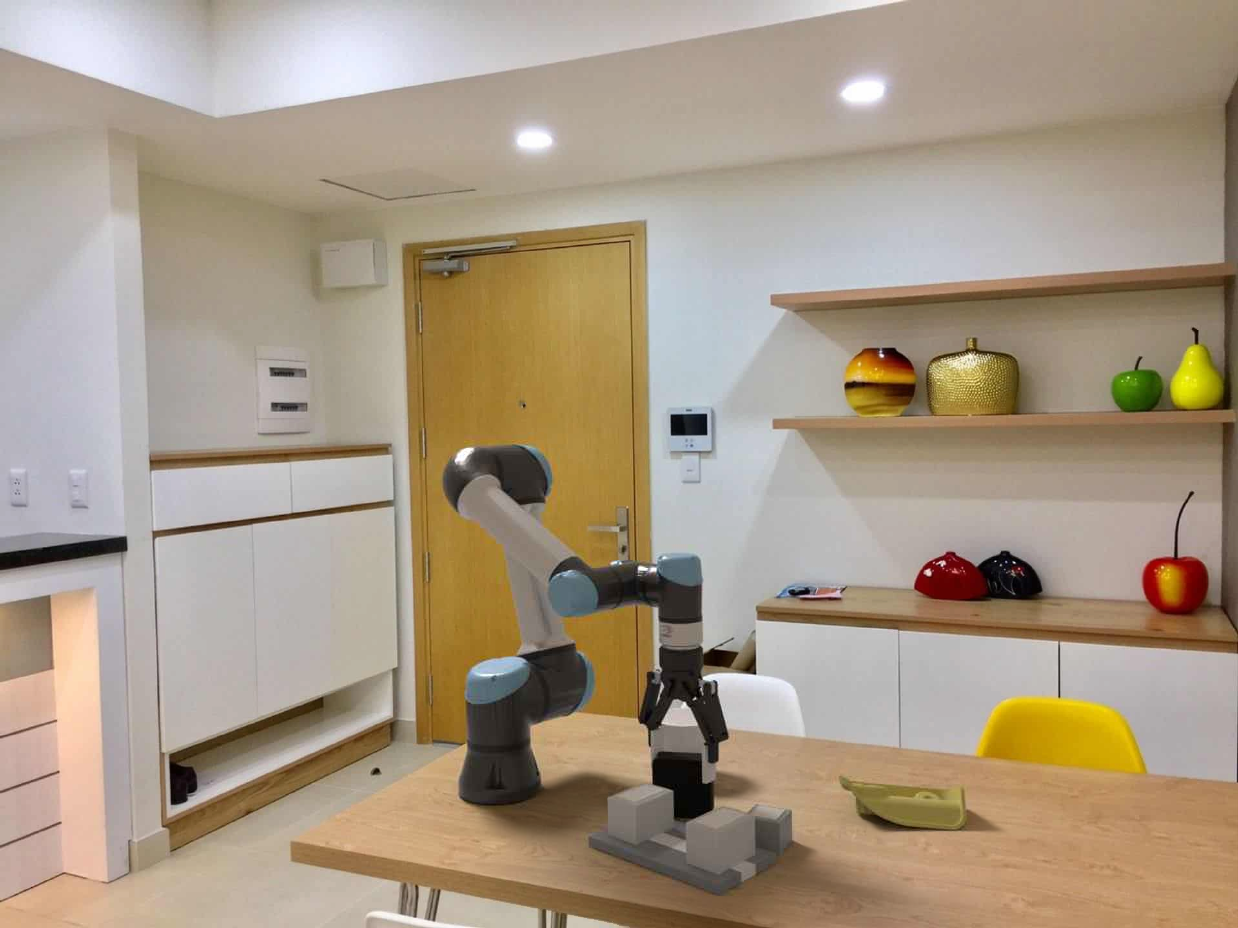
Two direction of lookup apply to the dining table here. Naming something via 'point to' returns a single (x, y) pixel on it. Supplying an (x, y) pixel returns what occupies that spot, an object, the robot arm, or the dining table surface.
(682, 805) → the electronic device
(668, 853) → the board
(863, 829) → the dining table surface
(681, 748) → the cup
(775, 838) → the module
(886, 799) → the plastic component
